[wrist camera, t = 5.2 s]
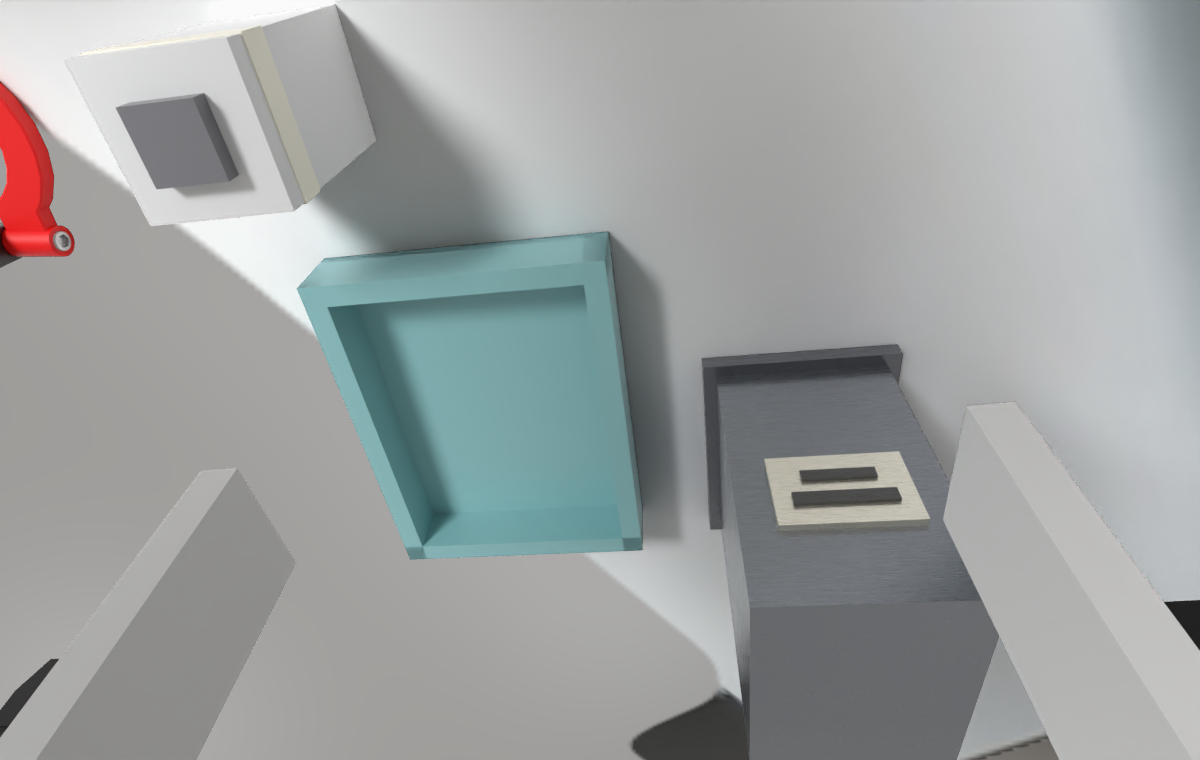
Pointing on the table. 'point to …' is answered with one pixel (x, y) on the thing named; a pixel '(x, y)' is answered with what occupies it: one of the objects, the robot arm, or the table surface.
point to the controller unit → (840, 560)
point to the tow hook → (27, 189)
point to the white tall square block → (229, 113)
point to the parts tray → (487, 393)
